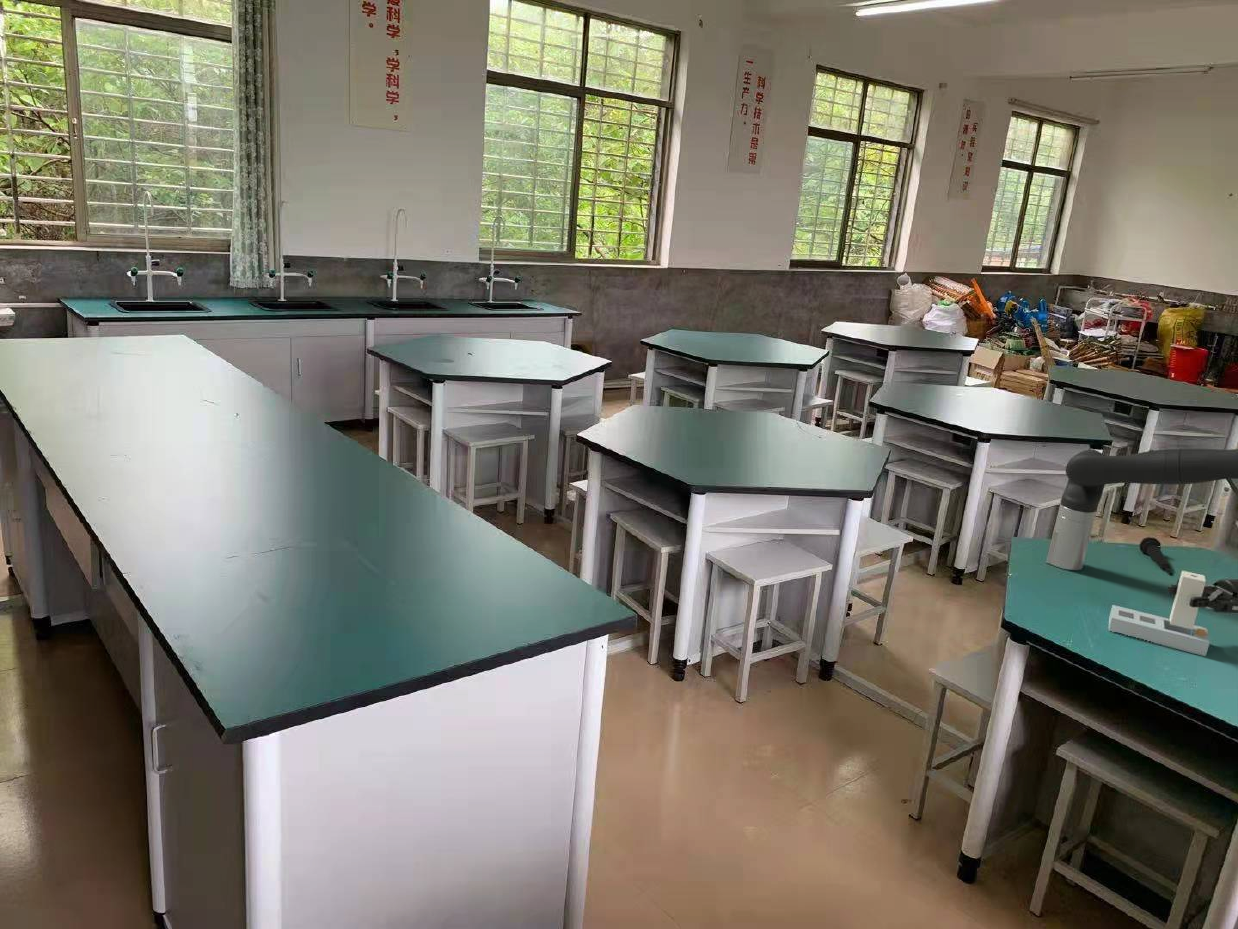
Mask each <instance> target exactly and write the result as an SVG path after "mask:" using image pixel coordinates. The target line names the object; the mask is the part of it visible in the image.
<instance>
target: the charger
mask: <svg viewBox="0 0 1238 929" xmlns="http://www.w3.org/2000/svg"><path fill="white" fill-rule="evenodd" d="M1178 580H1179V584H1178V588H1177V592H1176V595H1175V596H1174V599H1173V604H1172V607H1171V611H1170V615H1169V619H1170V624H1171V625H1175V626H1180V627H1184V628H1188V629H1192V630H1193V626H1194V625H1195V622H1196V619H1197V615H1198V611H1199V608H1200V607H1191V606H1190V605H1189V604H1190V600H1191V598H1192V597H1202V593H1203V590H1204V586H1205V585H1206V584H1207V583H1206V582H1207V581H1206V576H1205V575H1203V574H1198V573H1196V572H1195V573H1194V572H1191V571H1186V570H1181V572H1180V577H1179V579H1178Z"/></svg>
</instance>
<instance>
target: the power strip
mask: <svg viewBox="0 0 1238 929" xmlns="http://www.w3.org/2000/svg"><path fill="white" fill-rule="evenodd" d="M1108 630H1109V631H1108V632H1110V631H1112V632H1111V633H1114V632H1119V633H1122V634H1125V635H1124V636H1126V635H1128V636H1127V637H1129V636H1134V637H1136V638H1135V639H1137V638H1141V639H1144V640H1143V641H1145V640H1147V641H1146V642H1149V641H1151V642H1150V643H1152V642H1153V644H1156V645H1160V644H1161V646H1164V647H1169V648H1172V649H1176V650H1181V651H1184V652H1188V653H1191V654H1195V655H1200V656H1203V657H1206V656H1207V653H1208V649H1209V646H1210V643H1211V642H1210V638H1209V633H1208V628H1207V627H1203V626H1199V625H1195V624H1194V626H1193V630H1192V629H1188V628H1184V627H1180V626H1175V625H1171V624H1170V618H1168V617H1163V616H1159V615H1156V614H1155V615H1154V614H1151V613H1146V612H1142V611H1139V610H1135V609H1131V608H1127V607H1123V606H1118V605H1114V604H1112V606H1111V609H1110V614H1109V617H1108ZM1122 634H1121V635H1122ZM1141 639H1140V640H1141Z"/></svg>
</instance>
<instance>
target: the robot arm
mask: <svg viewBox="0 0 1238 929" xmlns="http://www.w3.org/2000/svg"><path fill="white" fill-rule="evenodd" d="M1065 475H1066V477H1067V478H1068V479H1067V484H1066V487H1065V489H1064V491H1063V492H1062V495H1061V499H1060V505H1059V509H1058V512H1057V516H1056V520H1055V524H1054V528H1053V531H1052V535H1051V536H1052V537H1051V540H1050V545H1049V550H1048V553H1047V558H1046V562H1045V563H1046V564H1049V565H1052V566H1054V567H1057V568H1060V569H1063V570H1068V571H1069V570H1070V571H1080V570H1082V569H1083V568H1084V567H1083V566H1084V564H1085V558H1086V555H1087V551H1088V547H1089V542H1090V538H1091V535H1092V532H1093V531H1092V530H1093V526H1094V523H1095V519H1096V514H1097V509H1098V507H1099V503H1100V502H1101V499H1102V495H1103V492H1104V488H1105V486H1106V485H1112V484H1138V485H1139V484H1140V485H1141V484H1142V485H1191V484H1193V485H1194V484H1203V483H1208V482H1214V481H1215V482H1216V481H1221V480H1230V479H1231V480H1233V479H1235V480H1238V448H1235V449H1214V448H1164V449H1163V448H1162V449H1155V450H1147V451H1143V452H1138V453H1132V454H1128V455H1127V454H1126V455H1104V454H1103V453H1102V452H1101V451H1099V450H1097V449H1085V450H1083V451H1080V452H1079V453H1076V454H1075V455H1073V457H1071V458H1069V460H1068V462H1067V464H1066V466H1065ZM1179 580H1180V579H1178V580H1176V584H1168V585H1167V588H1166V594H1168V595H1172V596H1173V595H1176V592H1177V588H1178V584H1179ZM1189 605H1190V606H1191V607H1199V608H1205V609H1209V610H1211V609H1213V612H1215V613H1222V614H1223V613H1226V614H1228V613H1229V614H1238V578H1231V579H1230V578H1228V579H1227V578H1223V579H1219V580H1217V581H1215V582H1214V583H1213V584H1210V583H1205V586H1204V590H1203V593H1202V597H1192V598H1191V600H1190V604H1189Z"/></svg>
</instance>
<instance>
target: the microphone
mask: <svg viewBox="0 0 1238 929" xmlns="http://www.w3.org/2000/svg"><path fill="white" fill-rule="evenodd" d="M1161 544H1162V543H1161V542H1160V540H1158V538H1155V537H1149V536H1147V537H1144V538H1142V539H1141V541H1140V543H1139V551H1140V552H1141V553H1143V554H1144V553H1146V554H1145V555H1149V557H1150V559H1151V561H1153V562H1155V563H1156V564H1157V566H1158V567H1159V568H1160V570H1162V571H1163V572H1166V573H1167V574H1168V575H1169V576H1172V575H1173V572H1172V571H1171V566H1170V564H1169V561H1168V560H1167V558H1166V557H1165V555H1164V554H1163V552H1162V550H1161V548H1162V547H1158V546H1161Z"/></svg>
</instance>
